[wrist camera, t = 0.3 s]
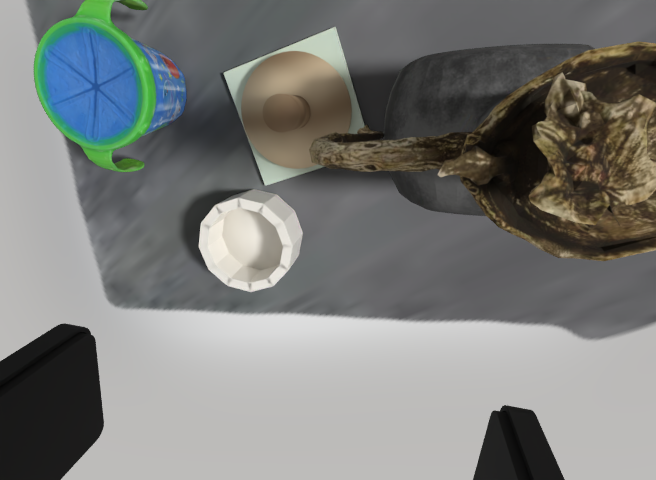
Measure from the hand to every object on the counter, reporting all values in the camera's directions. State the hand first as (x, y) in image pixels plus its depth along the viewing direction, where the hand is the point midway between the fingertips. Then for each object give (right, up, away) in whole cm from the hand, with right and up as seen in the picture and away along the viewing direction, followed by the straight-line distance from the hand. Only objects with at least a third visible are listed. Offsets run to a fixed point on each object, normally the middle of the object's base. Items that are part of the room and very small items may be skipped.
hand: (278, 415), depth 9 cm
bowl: (-7, +5, +37) cm, 38 cm away
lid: (-2, +17, +32) cm, 36 cm away
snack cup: (-17, +20, +34) cm, 43 cm away
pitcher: (+13, +15, +30) cm, 36 cm away
